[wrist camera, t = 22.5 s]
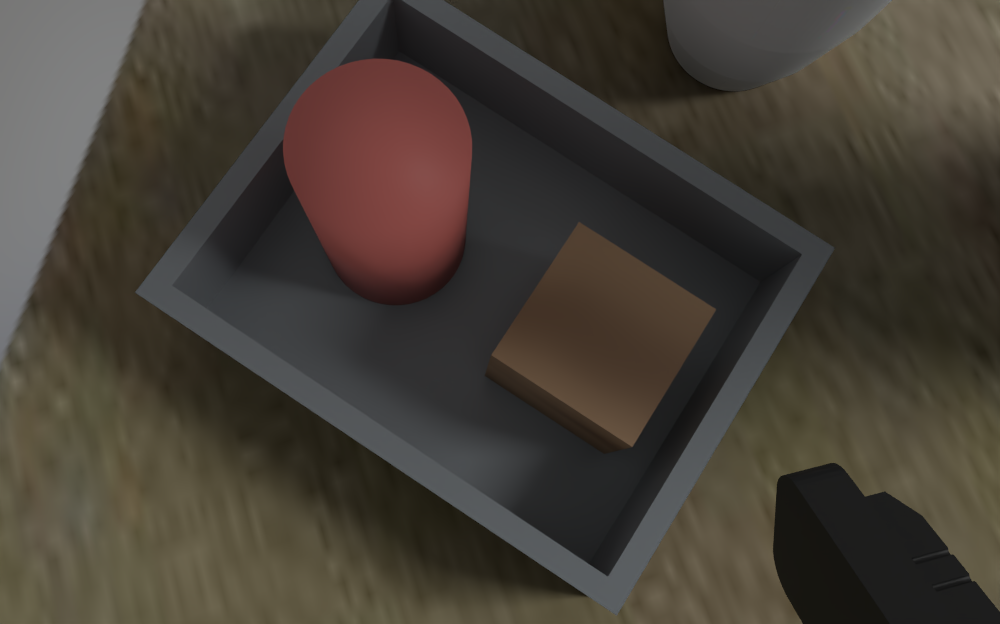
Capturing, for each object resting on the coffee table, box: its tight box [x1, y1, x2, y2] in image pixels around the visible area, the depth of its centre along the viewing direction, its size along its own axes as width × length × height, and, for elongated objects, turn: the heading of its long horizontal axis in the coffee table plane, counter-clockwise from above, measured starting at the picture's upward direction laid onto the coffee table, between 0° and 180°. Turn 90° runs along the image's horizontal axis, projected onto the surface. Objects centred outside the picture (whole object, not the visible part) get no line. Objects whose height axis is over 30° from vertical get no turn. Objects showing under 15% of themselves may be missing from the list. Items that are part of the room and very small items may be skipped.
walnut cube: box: [485, 222, 716, 454], centre depth 30 cm, size 5×5×5 cm
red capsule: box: [283, 59, 472, 305], centre depth 29 cm, size 5×5×9 cm
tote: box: [135, 0, 835, 615], centre depth 32 cm, size 14×18×5 cm
